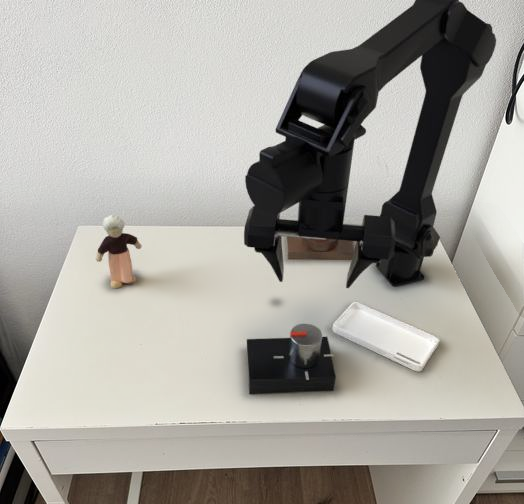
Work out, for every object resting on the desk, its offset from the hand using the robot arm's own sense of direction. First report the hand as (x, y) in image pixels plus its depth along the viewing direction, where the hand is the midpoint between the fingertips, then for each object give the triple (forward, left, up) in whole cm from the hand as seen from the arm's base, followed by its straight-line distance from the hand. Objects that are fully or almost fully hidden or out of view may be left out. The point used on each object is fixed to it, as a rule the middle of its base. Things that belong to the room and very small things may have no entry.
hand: (314, 282), depth 74 cm
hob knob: (+3, +5, -9) cm, 11 cm away
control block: (-12, -22, -12) cm, 27 cm away
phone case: (-12, +3, -12) cm, 17 cm away
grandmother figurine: (+24, -24, -12) cm, 36 cm away
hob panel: (+5, +5, -12) cm, 14 cm away
